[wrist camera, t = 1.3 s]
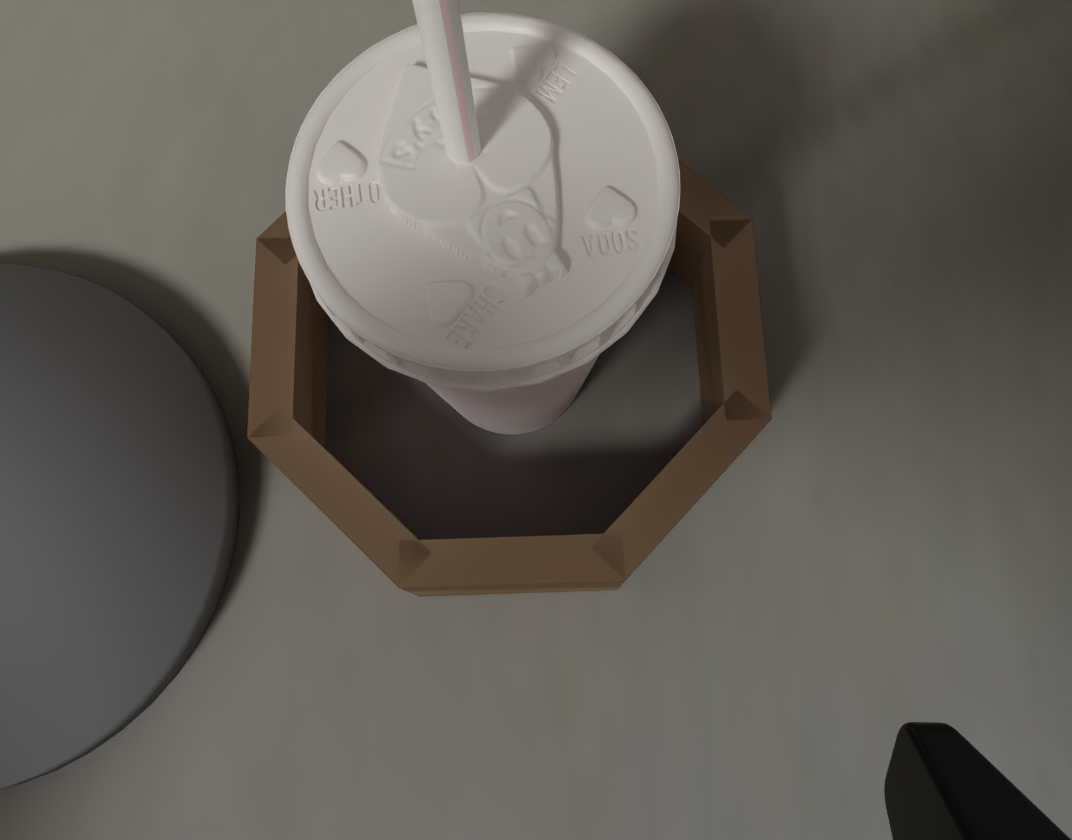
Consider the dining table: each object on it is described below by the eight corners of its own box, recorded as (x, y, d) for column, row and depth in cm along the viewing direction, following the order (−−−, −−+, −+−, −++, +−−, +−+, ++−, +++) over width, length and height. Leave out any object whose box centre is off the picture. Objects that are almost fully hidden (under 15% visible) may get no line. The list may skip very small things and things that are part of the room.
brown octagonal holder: (520, 696, 22) (515, 702, 19) (197, 377, 24) (147, 339, 21) (830, 353, 24) (868, 311, 21) (504, 86, 26) (498, 15, 23)
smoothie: (554, 210, 25) (548, -318, 11) (684, 406, 24) (853, 69, 10) (345, 326, 24) (75, -87, 11) (466, 535, 23) (331, 362, 9)
